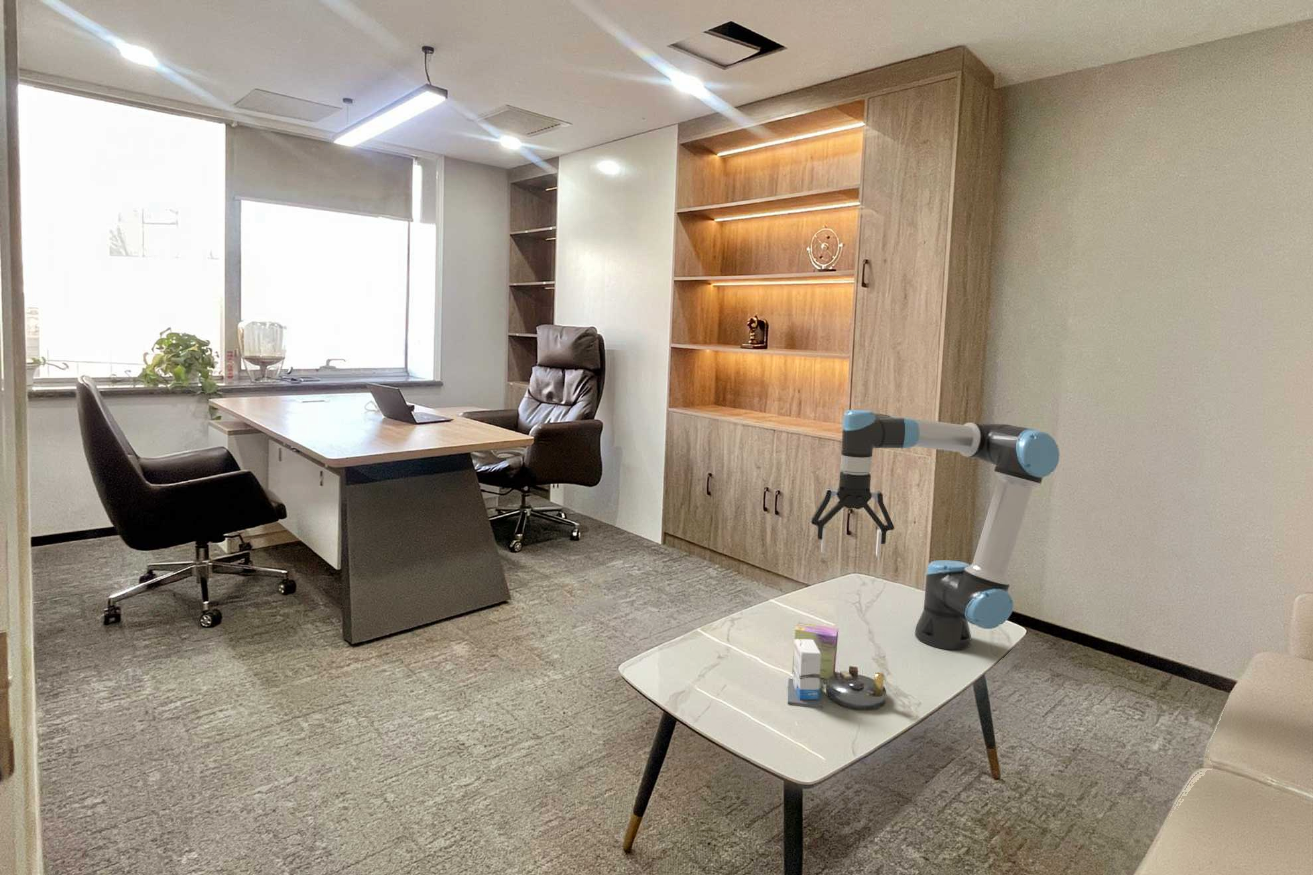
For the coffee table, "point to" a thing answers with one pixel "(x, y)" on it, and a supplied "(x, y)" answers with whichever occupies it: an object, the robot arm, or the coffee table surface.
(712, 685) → the coffee table surface
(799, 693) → the ink box
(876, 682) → the dark pot lid
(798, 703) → the mat
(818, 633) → the box
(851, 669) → the brown short block
